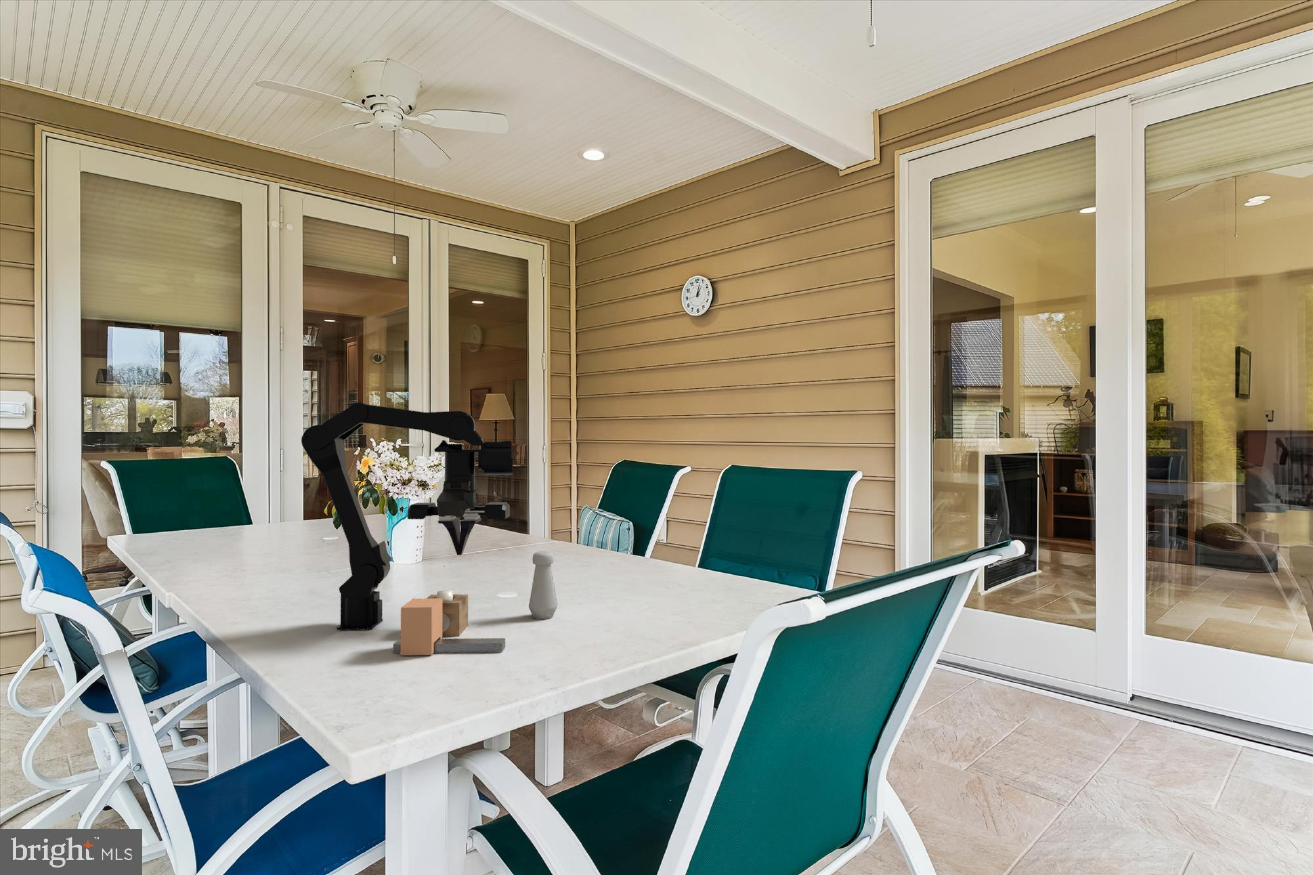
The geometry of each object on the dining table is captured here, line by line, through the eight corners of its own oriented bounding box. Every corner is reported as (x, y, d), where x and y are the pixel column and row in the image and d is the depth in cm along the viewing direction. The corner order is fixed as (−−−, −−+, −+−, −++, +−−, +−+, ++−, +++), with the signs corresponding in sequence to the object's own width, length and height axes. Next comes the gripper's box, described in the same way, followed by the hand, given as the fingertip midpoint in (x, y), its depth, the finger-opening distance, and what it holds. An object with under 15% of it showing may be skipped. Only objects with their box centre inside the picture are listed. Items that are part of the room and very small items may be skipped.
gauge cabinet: (419, 636, 125) (419, 603, 125) (431, 625, 133) (431, 594, 133) (458, 636, 126) (459, 603, 126) (468, 625, 133) (468, 594, 133)
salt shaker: (560, 613, 142) (561, 550, 143) (554, 620, 137) (554, 554, 137) (532, 612, 143) (533, 549, 143) (525, 619, 137) (525, 554, 137)
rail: (393, 653, 116) (393, 644, 116) (399, 647, 119) (399, 639, 119) (502, 652, 116) (502, 643, 116) (505, 646, 119) (505, 638, 119)
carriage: (400, 655, 114) (400, 607, 114) (413, 643, 120) (413, 598, 120) (431, 654, 114) (431, 607, 114) (442, 643, 121) (442, 598, 121)
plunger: (435, 609, 128) (435, 593, 128) (439, 605, 131) (439, 590, 131) (450, 609, 128) (450, 593, 128) (454, 605, 131) (454, 590, 131)
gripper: (398, 477, 128) (397, 562, 128) (500, 477, 129) (500, 561, 129) (416, 474, 139) (416, 552, 139) (510, 474, 140) (510, 552, 140)
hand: (459, 554), depth 136 cm, fingers closed
